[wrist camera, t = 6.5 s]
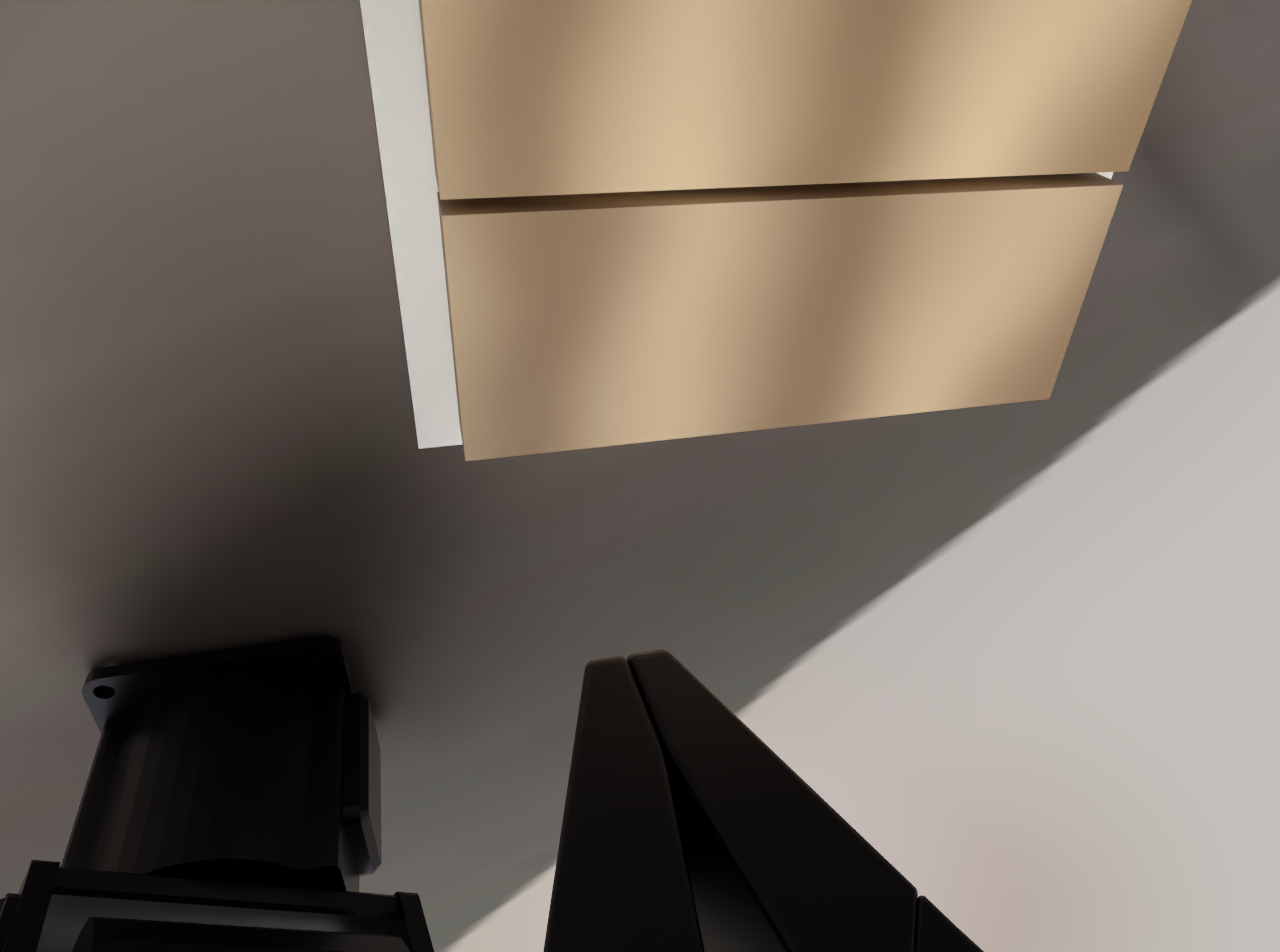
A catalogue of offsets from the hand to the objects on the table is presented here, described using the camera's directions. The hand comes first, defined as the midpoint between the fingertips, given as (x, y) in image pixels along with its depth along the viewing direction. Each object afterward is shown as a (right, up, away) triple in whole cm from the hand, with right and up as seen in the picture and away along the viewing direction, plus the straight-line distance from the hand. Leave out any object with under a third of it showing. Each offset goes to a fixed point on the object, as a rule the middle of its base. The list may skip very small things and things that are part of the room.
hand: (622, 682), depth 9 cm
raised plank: (+4, +11, +8) cm, 14 cm away
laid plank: (+3, +6, +12) cm, 14 cm away
